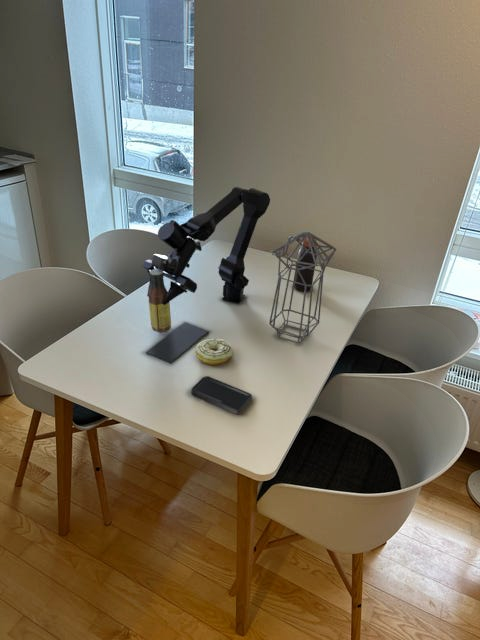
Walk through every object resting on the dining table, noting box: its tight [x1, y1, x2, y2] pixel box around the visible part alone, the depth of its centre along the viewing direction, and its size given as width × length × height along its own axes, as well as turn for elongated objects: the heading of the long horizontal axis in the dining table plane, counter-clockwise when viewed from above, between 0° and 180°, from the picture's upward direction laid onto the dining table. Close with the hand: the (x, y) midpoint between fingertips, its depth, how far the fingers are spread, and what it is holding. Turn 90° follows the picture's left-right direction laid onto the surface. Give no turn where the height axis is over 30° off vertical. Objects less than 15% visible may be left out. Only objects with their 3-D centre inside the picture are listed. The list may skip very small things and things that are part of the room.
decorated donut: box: [195, 338, 234, 366], centre depth 140 cm, size 10×11×4 cm
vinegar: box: [294, 238, 318, 293], centre depth 176 cm, size 7×7×20 cm
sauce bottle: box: [147, 269, 172, 333], centre depth 144 cm, size 7×6×20 cm
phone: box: [190, 375, 253, 415], centre depth 125 cm, size 8×1×15 cm
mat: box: [145, 321, 209, 364], centre depth 146 cm, size 20×9×1 cm, turn 150°
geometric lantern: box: [268, 231, 337, 344], centre depth 144 cm, size 16×16×35 cm
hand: (155, 300), depth 143 cm, fingers closed on sauce bottle, 6 cm apart
